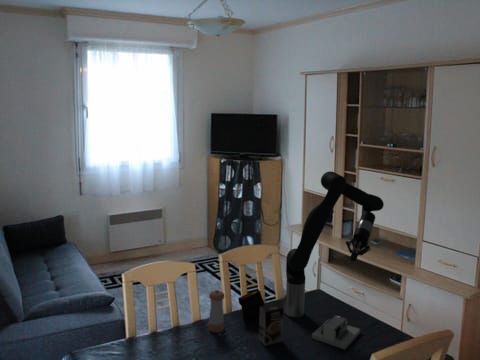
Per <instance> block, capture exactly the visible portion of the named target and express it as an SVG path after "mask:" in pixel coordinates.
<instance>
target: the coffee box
mask: <svg viewBox="0 0 480 360" xmlns="http://www.w3.org/2000/svg"><path fill="white" fill-rule="evenodd" d="M284 314H285V313H284V306H282V305H280V304H278V302H275V303H271V304H264V306H260V317H259V320H258V322H259V323H258V340H259V341H260V343H262V344H263V346H265V347H266V346H269V345H273V344H277V343H282V342H283V330H284Z"/></svg>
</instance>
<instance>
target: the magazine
mask: <svg viewBox="0 0 480 360" xmlns="http://www.w3.org/2000/svg"><path fill="white" fill-rule="evenodd" d="M237 299H238V304H239V305H240V306H241V311H242V315H241V316H242V320H243V321H247V322H248V321H259V317H260V306H265V301H264V299H263V296H262V293H261V290H260V289H258V288H257V289H254V290H252V291H251V292H249V293H246V294H244V295H243V296H240V297H238V298H237Z"/></svg>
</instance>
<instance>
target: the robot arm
mask: <svg viewBox="0 0 480 360" xmlns="http://www.w3.org/2000/svg"><path fill="white" fill-rule="evenodd" d="M320 184H321V186H322V187H323V188H324V189H325V190H326V191H327V192H326V195H325V196H324V197H323V200H321V202H320V203H319V204H318V205H316V206H315V207H314V208H312V209H311V211H309V213H308V215H307V217H306V219H305V222H304V223H303V224H304V225H303V228H302V233H301V238H300V240H299V244H298V245H297V246H296V247H297V248H292V249H290V250H289V251H288V252H287V254H286V261H285V262H286V263H285V266H286V267H285V272H286V275H285V276H286V290H285V294H284V295H283V296H284V298H283V299H284V300H283V308H284V313H283V314H285V315H286V316H287V317H290V318H301V317H303V316H304V314H305V313H304V312H305V298H306V296H305V295H306V293H305V292H306V273H305V269H306V267H307V266H308V264H309V261H310V258H311V254H312V252H313V251H314V248H315V246H316V245H317V241H318V240H319V238H320V236H321V234H322V232H323V230H324V228H325V226H326V225H327V221H328V219H329V217H330V215H331V213H332V211H333V210H334V208H335V205H336V204H337V202H338V200H339V199H340V197H341V196H344V197H346V198H347V199H348V200H350V201H352V202H354V203H355V204H357V205H360V206H361V215H360V219H359V221H358V222H357V225H356V226H355V230H354V233H353V236H352V238H351V239H350V240H349V241H348V240H346V241H345V245H346V247H347V249H348V251H349V253H350V257H349V260H350V262H351V263H355V262H357V259H358V257H359V256H363V255H364V254H366V253H368V252H370V251H371V250H372V249H371V246H370V245H369V240H370V236H371V234H372V231H373V226H374V223H375V221H376V215H375V214H374V212H378V211H379V212H380V211H382V209H383V208H384V205H385V204H384V203H385V202H384V200H383V199H382V198H381V197H380V196H377V195H376V194H375V195H374V194H371V193H367V192H366V191H364V190H362V189H361V188H358V187H356V186H355V185H352V184H350V183H348V182H347V180H346V177H344V176H343V175H340V174H338V173H337V172H335V171H326V172H324V173H323V174H322V176H321V178H320ZM351 246H352V248H351Z"/></svg>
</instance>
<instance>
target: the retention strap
mask: <svg viewBox="0 0 480 360" xmlns="http://www.w3.org/2000/svg"><path fill="white" fill-rule="evenodd" d="M329 320H330V319H329ZM345 321H347V322H348V318H347V317H343V316H340V315H337V314H336V315H334V316H333V317H332V318H331V320H330V321H329V322H328V323H327V324H326V325H329V326H332V327H335V331H336V330H337V329H338V328H339V327H340V326H341V325H342V324H343V323H344V322H345Z"/></svg>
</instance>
